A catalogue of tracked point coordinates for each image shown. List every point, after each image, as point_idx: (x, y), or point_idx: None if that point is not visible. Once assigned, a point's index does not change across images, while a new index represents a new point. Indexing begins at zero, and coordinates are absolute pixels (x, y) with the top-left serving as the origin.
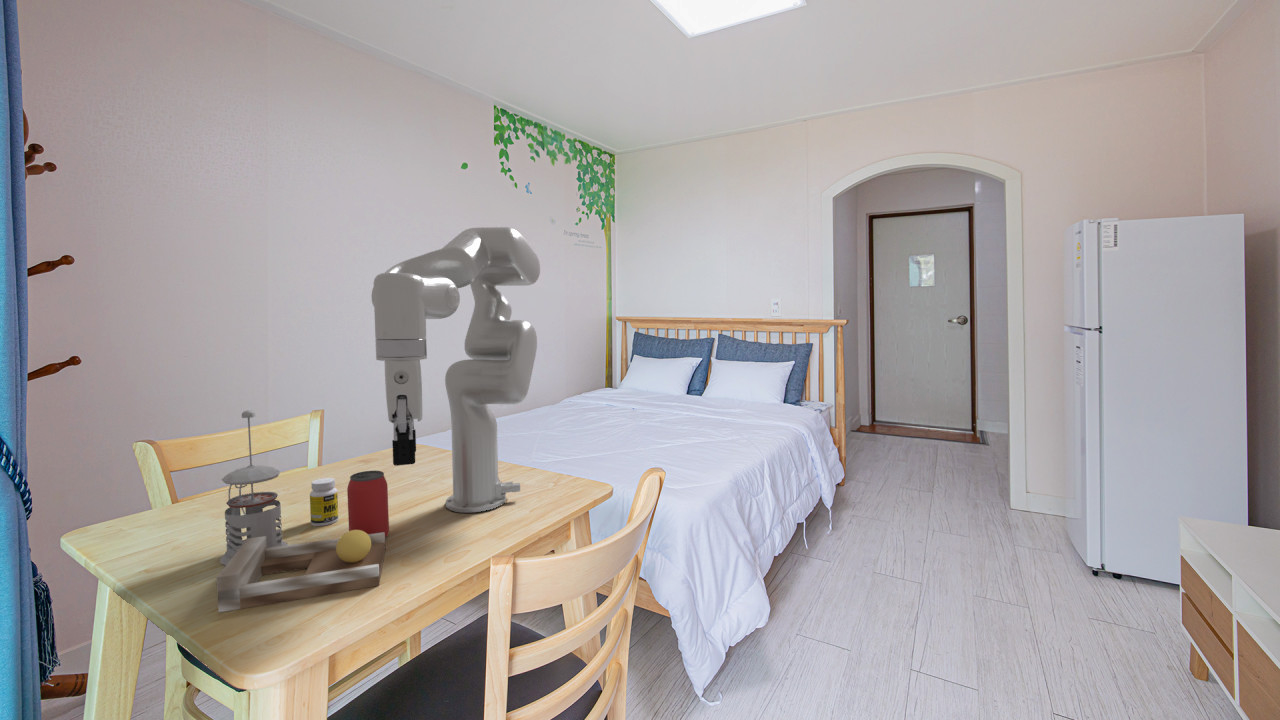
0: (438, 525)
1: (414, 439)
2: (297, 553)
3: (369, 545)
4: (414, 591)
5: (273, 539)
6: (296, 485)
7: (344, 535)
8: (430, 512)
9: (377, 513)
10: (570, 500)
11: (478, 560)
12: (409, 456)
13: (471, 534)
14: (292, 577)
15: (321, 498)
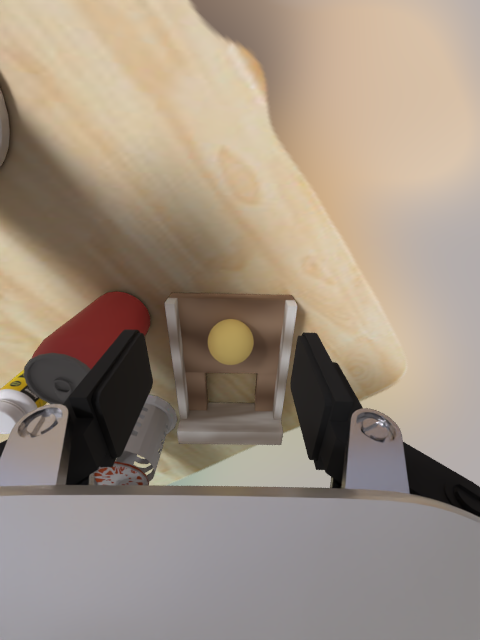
0: (81, 205)
1: (352, 400)
2: (186, 388)
3: (239, 323)
4: (332, 251)
5: (150, 416)
6: None
7: (235, 362)
8: (4, 219)
9: (127, 325)
10: None
11: (275, 136)
12: (338, 366)
13: (142, 136)
14: (278, 386)
15: (38, 402)
